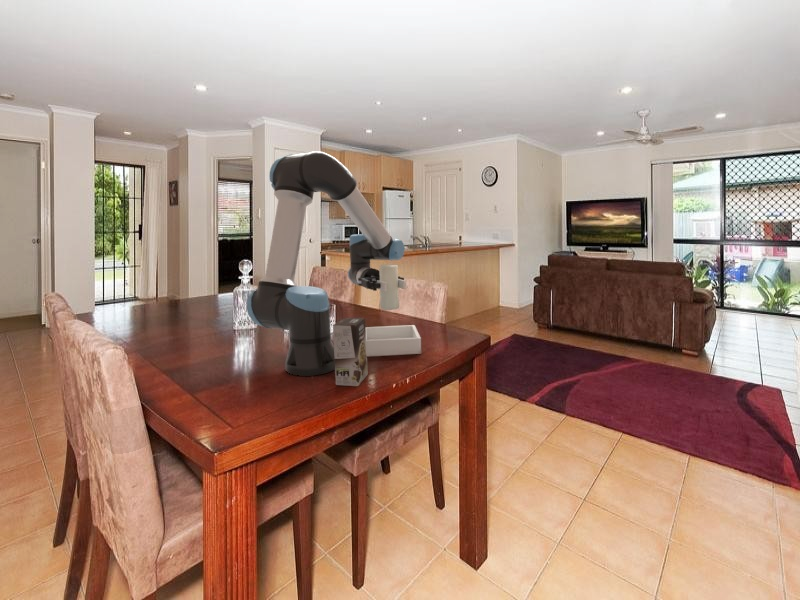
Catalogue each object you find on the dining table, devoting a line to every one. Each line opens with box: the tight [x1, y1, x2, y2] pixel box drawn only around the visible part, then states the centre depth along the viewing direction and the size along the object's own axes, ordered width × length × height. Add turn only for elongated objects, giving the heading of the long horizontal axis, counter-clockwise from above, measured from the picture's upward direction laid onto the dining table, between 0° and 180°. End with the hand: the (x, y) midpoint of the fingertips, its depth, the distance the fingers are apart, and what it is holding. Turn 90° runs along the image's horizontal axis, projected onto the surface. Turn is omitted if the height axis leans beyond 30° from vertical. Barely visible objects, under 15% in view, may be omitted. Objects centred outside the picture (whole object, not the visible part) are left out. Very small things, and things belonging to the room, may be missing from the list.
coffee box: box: [332, 317, 368, 387], centre depth 114 cm, size 9×6×16 cm
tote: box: [365, 324, 422, 357], centre depth 144 cm, size 18×18×5 cm
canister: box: [378, 264, 400, 311], centre depth 141 cm, size 6×6×14 cm
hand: (395, 286), depth 136 cm, fingers closed on canister, 6 cm apart
